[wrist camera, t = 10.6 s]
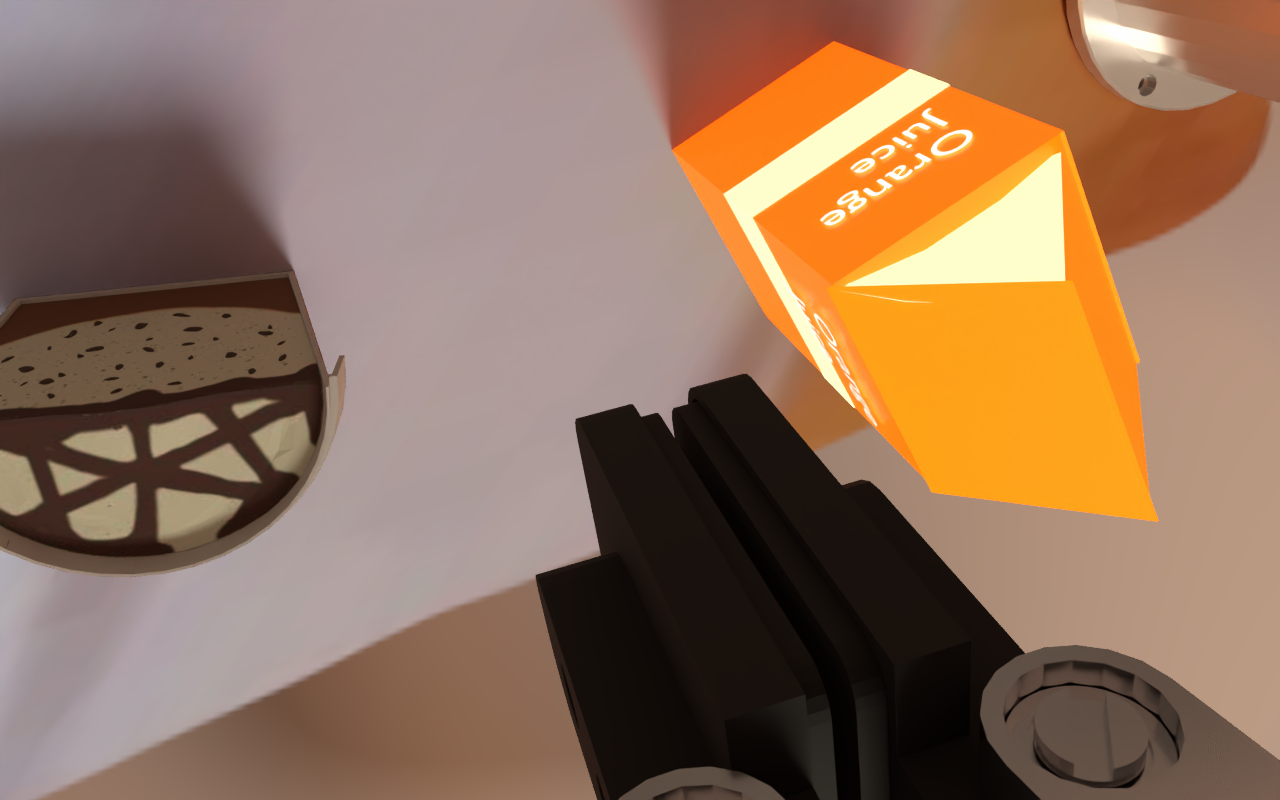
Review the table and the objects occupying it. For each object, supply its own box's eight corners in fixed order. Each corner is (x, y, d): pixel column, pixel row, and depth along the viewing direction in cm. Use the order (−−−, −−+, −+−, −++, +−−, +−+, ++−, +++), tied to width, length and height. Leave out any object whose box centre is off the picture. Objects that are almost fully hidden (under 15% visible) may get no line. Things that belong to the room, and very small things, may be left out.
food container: (16, 456, 40) (-58, 626, 31) (-33, 303, 37) (-130, 444, 29) (356, 411, 43) (372, 555, 34) (335, 266, 40) (347, 384, 32)
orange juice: (836, 37, 41) (1215, 182, 24) (916, 218, 46) (1280, 446, 29) (666, 151, 42) (925, 373, 25) (762, 320, 46) (1036, 605, 29)
